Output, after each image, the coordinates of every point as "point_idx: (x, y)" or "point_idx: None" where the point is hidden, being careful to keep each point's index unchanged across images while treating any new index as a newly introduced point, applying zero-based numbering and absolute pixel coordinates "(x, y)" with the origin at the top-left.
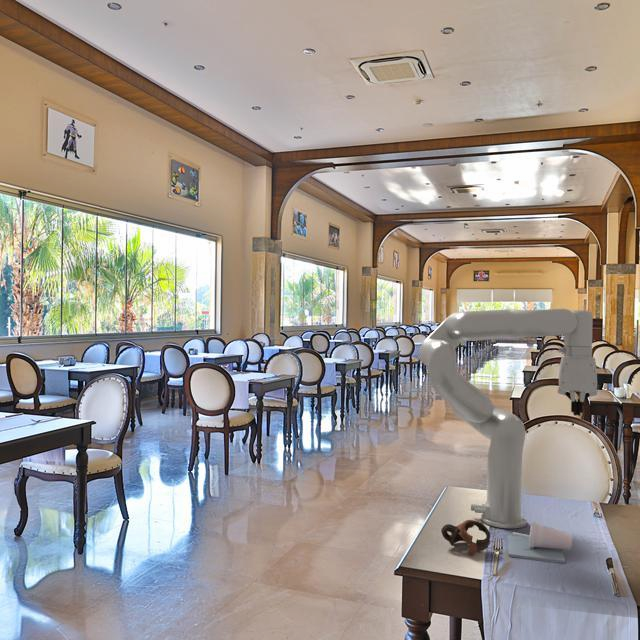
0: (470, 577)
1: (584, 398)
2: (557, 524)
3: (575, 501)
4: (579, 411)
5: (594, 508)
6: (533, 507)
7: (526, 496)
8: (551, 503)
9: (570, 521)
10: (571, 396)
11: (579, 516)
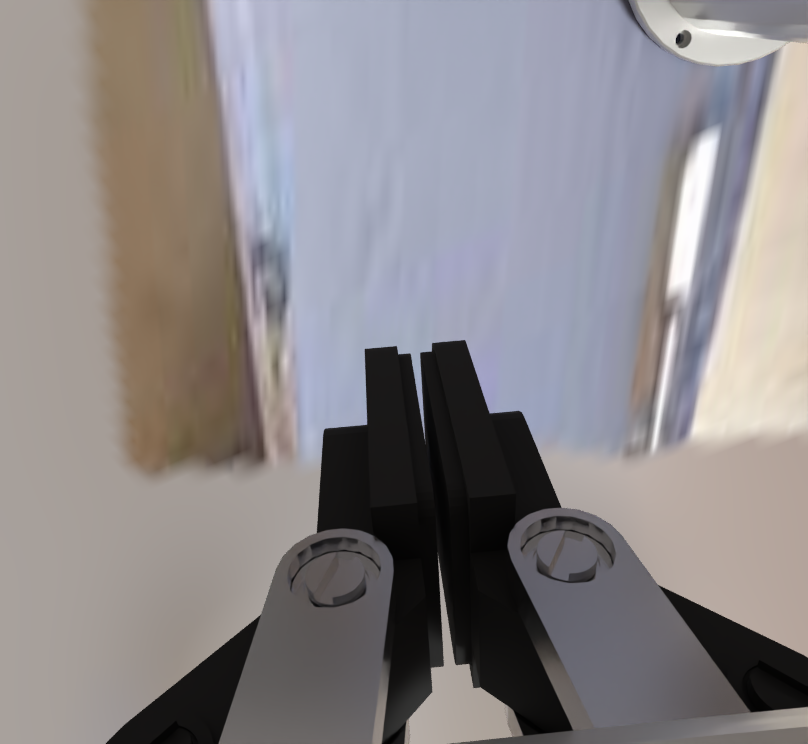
0: None
1: (262, 617)
2: (458, 22)
3: None
4: (383, 378)
5: (283, 371)
6: (551, 271)
7: (565, 423)
8: None
9: (392, 110)
10: (648, 614)
11: (348, 217)
